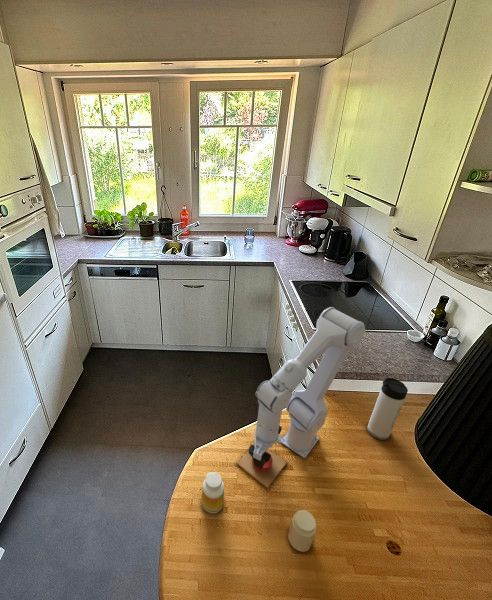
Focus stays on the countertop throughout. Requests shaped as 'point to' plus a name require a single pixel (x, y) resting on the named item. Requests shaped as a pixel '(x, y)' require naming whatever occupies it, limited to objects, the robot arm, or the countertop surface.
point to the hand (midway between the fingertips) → (263, 455)
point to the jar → (302, 530)
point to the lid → (266, 466)
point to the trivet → (262, 477)
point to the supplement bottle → (213, 492)
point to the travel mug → (387, 408)
